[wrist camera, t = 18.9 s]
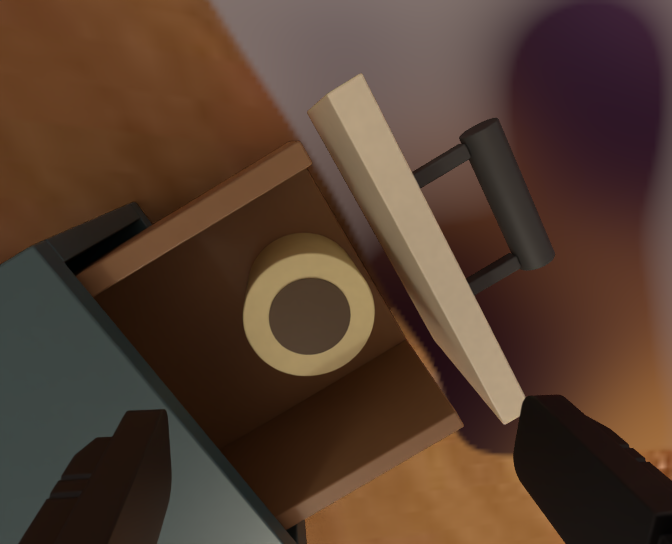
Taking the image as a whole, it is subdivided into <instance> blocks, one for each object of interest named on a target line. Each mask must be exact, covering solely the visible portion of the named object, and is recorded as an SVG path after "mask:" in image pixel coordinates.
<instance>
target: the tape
mask: <svg viewBox="0 0 672 544" xmlns="http://www.w3.org/2000/svg"><path fill="white" fill-rule="evenodd" d="M374 317H375V306H374V300H373V296H372V293H371V290H370V288H369V286H368V284H367V282H366V280H365V279H364V278H363V276H362V275H361V273H360V272H359V270H358V269H357V267H356V266H355V264H354V263H353V261H352V260H351V258H350V257H349V256H348V254H347V253H346V252H345V250H344V249H343V248H342V247H341V246H339V245H338V244H337V243H336V242H334V241H332V240H331V239H329V238H327V237H324V236H321V235H318V234H313V233H294V234H290V235H286V236H283V237H281V238H279V239H277V240H275V241H273V242H272V243H270V244H269V245H268V246H266V247H265V248H264V249H263V250H262V251H261V252H260V254H259V255H258V256H257V258H256V259H255V261H254V263H253V265H252V267H251V270H250V273H249V278H248V283H247V289H246V295H245V301H244V307H243V326H244V331H245V334H246V337H247V339H248V341H249V344H250V345H251V347H252V348H253V350H254V351H255V352H256V354H257V355H258V356H259V357H260V358H261V359H262V360H263V361H264V362H266V363H267V364H269V365H270V366H272V367H273V368H275V369H277V370H279V371H282V372H285V373H288V374H292V375H298V376H315V375H321V374H325V373H329V372H331V371H334V370H336V369H338V368H340V367H342V366H344V365H345V364H347V363H348V362H349V361H351V360H352V359H353V358H354V357H355V356H356V355H357V354H358V353H359V352H360V351H361V349H362V348H363V347H364V345H365V344H366V342H367V340H368V338H369V336H370V334H371V331H372V328H373V324H374Z"/></svg>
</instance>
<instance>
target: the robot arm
mask: <svg viewBox="0 0 672 544" xmlns="http://www.w3.org/2000/svg"><path fill="white" fill-rule="evenodd" d="M513 460H514V467H515V470H516V474H517V476H518V478H519V480H520V482H521V483H522V485H523V486H524V487H525V489H526V490H527V492H528V493H529V494H530V496H531V497H532V498H533V500H534V501H535V502H536V504H537V505H538V507H539V508H540V509H541V511H542V512H543V513H544V515H545V516H546V517H547V519H548V520H549V522H550V523H551V524H552V526H553V527H554V528H555V530H556V531H557V533H558V534H559V535H560V537H561V538H562V539H563V541H564V542H565V543H566V544H672V481H671V480H670V479H669V478H668V477H666V476H665V475H664V474H663V473H662V472H661V471H659V470H658V469H657V468H656V467H655V466H653V465H652V464H651V463H650V462H646V461H645V458H644V457H643V456H642V455H641V454H639V453H638V452H637V451H636V450H635V449H633V448H629V445H628V443H626V442H625V441H624V440H623V439H622V438H620V437H619V436H618V435H617V434H616V433H615V432H613V431H612V430H611V429H609V428H608V427H606V426H604V425H602V424H600V423H599V422H596V421H595V420H593V419H591V418H589V417H588V416H586V415H584V414H583V413H582V412H581V411H580V410H579V409H578V408H576V407H575V406H574V405H573V404H572V403H571V402H570V401H568V400H567V399H566V398H565V397H564V396H561V395H537V396H528V397H526V398H525V399H524V400H523V403H522V406H521V412H520V418H519V423H518V430H517V435H516V441H515V447H514V453H513ZM171 483H172V468H171V453H170V439H169V424H168V415H167V411H166V410H165V409H154V410H129V411H127V412H126V413H125V414H124V416H123V418H122V419H121V421H120V423H119V425H118V427H117V429H116V430H115V432H114V434H113V436H112V437H96V438H95V439H94V440H93V441H91V442H90V443H89V444H88V445H86V446H85V447H84V448H83V449H81V450H80V451H79V452H78V453H76V454H75V455H74V456H73V458H72V460H71V461H70V463H69V464H68V466H67V468H66V469H65V471H64V472H63V474H62V475H61V480H58V482H57V483H56V485H55V486H54V488H53V490H52V491H51V493H50V497H49V499H46V501H45V502H44V504H43V505H42V507H41V509H40V510H39V512H38V513H37V515H36V516H35V518H34V520H33V521H32V523H31V524H30V526H29V527H28V529H27V531H26V532H25V534H24V535H23V537H22V538H21V540H20V542H19V543H18V544H157V542H158V539H159V536H160V532H161V529H162V525H163V522H164V518H165V515H166V511H167V508H168V504H169V499H170V493H171Z"/></svg>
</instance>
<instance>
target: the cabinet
mask: <svg viewBox="0 0 672 544" xmlns="http://www.w3.org/2000/svg"><path fill="white" fill-rule="evenodd" d="M151 225H152V224H151V222H150V221H149V220H148V218H147V217H146V216H145V214H144V213H143V212H142V210H141V209H140V207H139V206H138V205H137V203H136V202H132V203H130V204H127V205H125V206H123V207H120V208H118V209H116V210H113V211H111V212H109V213H106V214H104V215H102V216H99V217H97V218H95V219H92V220H90V221H88V222H85V223H83V224H81V225H78V226H76V227H73V228H71V229H69V230H66V231H64V232H62V233H59V234H57V235H55V236H52V237H50V238H48V239H45V240H44V241H41V242H39V243H36V244H34V245H32V246H30V247H28V248H26V249H25V250H23V251H22V252H20V253H18V254H17V255H15V256H13V257H12V258H10V259H9V260H7V261H5V262H4V263H2V264H0V544H18V543H19V542H20V540H21V538H22V537H23V535H24V534H25V532H26V531H27V529H28V527H29V526H30V524H31V523H32V521H33V520H34V518H35V516H36V515H37V513H38V512H39V510H40V509H41V507H42V505H43V504H44V502H45V501H46V499H49V497H50V493H51V491H52V490H53V488H54V486H55V485H56V483H57V482H58V480H61V475H62V474H63V472H64V471H65V469H66V468H67V466H68V464H69V463H70V461H71V460H72V458H73V456H74V455H75V454H76V453H78V452H79V451H80V450H81V449H83V448H84V447H85V446H86V445H88V444H89V443H90V442H91V441H93V440H94V439H95V438H96V437H112V436H113V434H114V432H115V430H116V429H117V427H118V425H119V423H120V421H121V419H122V418H123V416H124V414H125V413H126V412H127V411H129V410H154V409H165V410H166V411H167V415H168V424H169V439H170V453H171V468H172V483H171V493H170V499H169V504H168V508H167V511H166V515H165V518H164V522H163V525H162V529H161V532H160V536H159V539H158V542H157V544H307V540H306V529H305V519H304V520H303V521H301V522H299V523H297V524H296V525H294V526H292V527H291V528H289V529H287V530H285V529H284V527H283V526H282V525H281V524H280V523H279V521H278V520H277V519H276V518H275V517H274V515H273V514H272V513H271V512H270V511H269V509H268V508H267V507H266V506H265V504H264V503H263V502H262V501H261V500H260V498H259V497H258V496H257V495H256V494H255V492H254V491H253V490H252V489H251V488H250V486H249V485H248V484H247V483H246V482H245V480H244V479H243V478H242V477H241V475H240V474H239V473H238V472H237V471H236V469H235V468H234V467H233V466H232V465H231V463H230V462H229V461H228V460H227V459H226V457H225V456H224V455H223V454H222V453H221V451H220V450H219V449H218V448H217V447H216V445H215V444H214V443H213V442H212V440H211V439H210V438H209V437H208V436H207V434H206V433H205V432H204V431H203V430H202V428H201V427H200V426H199V425H198V424H197V422H196V421H195V420H194V419H193V418H192V416H191V415H190V414H189V413H188V412H187V410H186V409H185V408H184V407H183V405H182V404H181V403H180V402H179V401H178V399H177V398H176V397H175V396H174V395H173V393H172V392H171V391H170V390H169V389H168V387H167V386H166V385H165V384H164V383H163V381H162V380H161V379H160V378H159V376H158V375H157V374H156V373H155V372H154V370H153V369H152V368H151V367H150V366H149V364H148V363H147V362H146V361H145V360H144V358H143V357H142V356H141V355H140V354H139V352H138V351H137V350H136V349H135V348H134V346H133V345H132V344H131V343H130V341H129V340H128V339H127V338H126V337H125V335H124V334H123V333H122V332H121V331H120V329H119V328H118V327H117V326H116V325H115V323H114V322H113V321H112V320H111V319H110V317H109V316H108V315H107V314H106V313H105V311H104V310H103V309H102V308H101V306H100V305H99V304H98V303H97V302H96V300H95V299H94V298H93V297H92V296H91V294H90V293H89V292H88V291H87V290H86V288H85V287H84V286H83V285H82V284H81V282H80V281H79V280H78V279H77V277H76V276H75V275H74V274H73V273H74V272H76V271H77V270H79V269H80V268H82V267H84V266H85V265H87V264H89V263H90V262H92V261H94V260H95V259H97V258H99V257H100V256H102V255H103V254H105V253H107V252H108V251H110V250H112V249H113V248H115V247H117V246H118V245H120V244H122V243H123V242H125V241H126V240H128V239H130V238H131V237H133V236H135V235H136V234H138V233H140V232H141V231H143V230H145V229H146V228H148V227H149V226H151Z"/></svg>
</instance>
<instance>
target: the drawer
mask: <svg viewBox="0 0 672 544" xmlns="http://www.w3.org/2000/svg"><path fill="white" fill-rule="evenodd" d="M307 114H308V115H309V117H310V119H311V121H312V123H313V124H314V126H315V128H316V130H317V131H318V133H319V135H320V137H321V139H322V141H323V142H324V144H325V146H326V148H327V149H328V151H329V153H330V155H331V157H332V158H333V160H334V162H335V164H336V165H337V167H338V169H339V171H340V172H341V174H342V176H343V178H344V180H345V182H346V183H347V185H348V187H349V189H350V191H351V192H352V194H353V196H354V198H355V200H356V201H357V203H358V205H359V207H360V208H361V210H362V212H363V214H364V216H365V217H366V219H367V221H368V222H369V224H370V226H371V228H372V230H373V232H374V234H375V235H376V237H377V239H378V241H379V242H380V244H381V246H382V248H383V249H384V251H385V253H386V255H387V257H388V259H389V260H390V262H391V264H392V265H393V267H394V269H395V271H396V273H397V275H398V276H399V278H400V280H401V282H402V283H403V285H404V287H405V289H406V291H407V293H408V294H409V296H410V298H411V299H412V301H413V303H414V305H415V307H416V309H417V310H418V312H419V314H420V316H421V318H422V319H423V321H424V323H425V325H426V327H427V328H428V330H429V332H430V333H431V335H432V337H433V339H434V340H435V341H436V343H437V344H438V345H439V346H440V348H441V349H442V350H443V351H444V352H445V354H446V355H447V356H448V357H449V359H450V360H451V361H452V362H453V363H454V365H455V366H456V367H457V368H458V369H459V371H460V372H461V373H462V374H463V375H464V377H465V378H466V379H467V380H468V382H469V383H470V384H471V385H472V386H473V388H474V389H475V390H476V391H477V393H478V394H479V395H480V396H481V397H482V399H483V400H484V401H485V402H486V403H487V404H488V406H489V407H490V408H491V409H492V411H493V412H494V413H495V414H496V416H497V417H498V418H499V419H500V420H501V422H502V423H503V424H504V425H505V424H507V423H509V422H510V421H512V420H514V419H516V418H517V417H519V416H520V412H521V406H522V403H523V400H524V399H525V398H526V397H525V395H524V393H523V391H522V390H521V388H520V385H519V383H518V381H517V379H516V378H515V376H514V374H513V372H512V370H511V368H510V366H509V364H508V362H507V360H506V358H505V356H504V354H503V352H502V350H501V348H500V346H499V344H498V342H497V340H496V338H495V336H494V334H493V332H492V330H491V328H490V326H489V324H488V322H487V320H486V318H485V316H484V314H483V312H482V310H481V308H480V306H479V304H478V302H477V300H476V298H475V296H474V295H476V294H478V293H479V292H481V291H483V290H484V289H486V288H488V287H489V286H491V285H493V284H494V283H496V282H498V281H499V280H501V279H503V278H504V277H506V276H508V275H510V274H511V273H513V272H515V271H516V270H518V269H521V270H534V269H538V268H541V267H543V266H545V265H546V264H548V263H550V262H551V261H552V260H553V258H554V256H555V252H554V250H553V248H552V245H551V243H550V240H549V238H548V236H547V233H546V231H545V229H544V226H543V224H542V222H541V219H540V217H539V215H538V212H537V209H536V207H535V205H534V202H533V200H532V198H531V195H530V193H529V190H528V188H527V186H526V183H525V181H524V179H523V176H522V174H521V171H520V169H519V167H518V164H517V162H516V160H515V157H514V155H513V153H512V150H511V148H510V146H509V143H508V141H507V138H506V136H505V133H504V131H503V129H502V126H501V124H500V122H499V119H498V118H492V119H489V120H486V121H484V122H481V123H479V124H477V125H475V126H473V127H472V128H470V129H468V130H467V131H465V132H464V133H463V134H462V135H461V136H460V137H459V139H460V141H461V144H458V145H456V146H455V147H453V148H451V149H450V150H448V151H447V152H445V153H443V154H442V155H440V156H438V157H436V158H435V159H433V160H431V161H430V162H428V163H426V164H425V165H423V166H421V167H420V168H418V169H416V170H415V171H413V172H412V171H411V169H410V167H409V165H408V163H407V161H406V159H405V157H404V155H403V153H402V151H401V149H400V147H399V146H398V143H397V141H396V140H395V137H394V136H393V133H392V131H391V130H390V128H389V126H388V124H387V122H386V120H385V118H384V116H383V114H382V112H381V110H380V108H379V106H378V104H377V102H376V100H375V98H374V96H373V94H372V92H371V90H370V88H369V86H368V84H367V82H366V80H365V78H364V76H363V74H359V75H357V76H355V77H354V78H352V79H351V80H349V81H347V82H345V83H344V84H342V85H341V86H339V87H337V88H336V89H334V90H332V91H331V92H329V93H328V94H326V95H325V96H324V97H323V98H322V99H321V100H320V101H319V102H317V103H316V104H315V105H314V106H313V107H312V108H311V109H310V110H309V111H308V112H307ZM467 160H469V161H470V163H471V165H472V168H473V170H474V172H475V174H476V176H477V179H478V181H479V183H480V185H481V187H482V190H483V192H484V194H485V196H486V198H487V200H488V203H489V205H490V207H491V209H492V211H493V213H494V216H495V218H496V220H497V222H498V225H499V227H500V229H501V231H502V233H503V235H504V238H505V240H506V242H507V244H508V246H509V248H510V251H511V253H512V254H511V253H508V254H507V255H505V256H503V257H502V258H500V259H498V260H496V261H495V262H493V263H491V264H490V265H488V266H486V267H485V268H483V269H481V270H480V271H478V272H477V273H475V274H473V275H471V276H470V277H468V278H465V276H464V275H463V272H462V271H461V269H460V267H459V264H458V262H457V260H456V259H455V256H454V254H453V253H452V251H451V249H450V247H449V245H448V243H447V241H446V239H445V237H444V235H443V233H442V231H441V229H440V227H439V225H438V223H437V221H436V219H435V217H434V215H433V213H432V211H431V209H430V207H429V205H428V203H427V201H426V199H425V197H424V195H423V193H422V191H421V189H420V188H422V187H424V186H425V185H427V184H428V183H430V182H432V181H434V180H435V179H437V178H438V177H440V176H442V175H444V174H445V173H447V172H449V171H450V170H452V169H453V168H455V167H457V166H458V165H460V164H462V163H464V162H465V161H467ZM311 164H312V161H311V159H310V157H309V155H308V154H307V152H306V150H305V148H304V147H303V145H302V143H301V142H300V141H290V142H288V143H286V144H284V145H283V146H281V147H279V148H278V149H276V150H274V151H273V152H271V153H269V154H268V155H266V156H265V157H263V158H261V159H260V160H258V161H256V162H255V163H253V164H251V165H250V166H248V167H246V168H245V169H243V170H242V171H240V172H238V173H237V174H235V175H233V176H232V177H230V178H228V179H227V180H225V181H223V182H222V183H220V184H219V185H217V186H215V187H214V188H212V189H210V190H209V191H207V192H205V193H204V194H202V195H200V196H199V197H197V198H196V199H194V200H192V201H191V202H189V203H187V204H186V205H184V206H182V207H181V208H179V209H177V210H176V211H174V212H172V213H171V214H169V215H168V216H166V217H164V218H163V219H161V220H159V221H158V222H156V223H154V224H153V225H151V226H149V227H148V228H146V229H145V230H143V231H141V232H140V233H138V234H136V235H135V236H133V237H131V238H130V239H128V240H126V241H125V242H123V243H122V244H120V245H118V246H117V247H115V248H113V249H112V250H110V251H108V252H107V253H105V254H103V255H102V256H100V257H99V258H97V259H95V260H94V261H92V262H90V263H89V264H87V265H85V266H84V267H82V268H80V269H79V270H77V271H76V272H74V273H73V274H74V275H75V276H76V277H77V279H78V280H79V281H80V282H81V284H82V285H83V286H84V287H85V288H86V290H87V291H88V292H89V293H90V294H91V296H92V297H93V298H94V299H95V300H96V302H97V303H98V304H99V305H100V306H101V308H102V309H103V310H104V311H105V313H106V314H107V315H108V316H109V317H110V319H111V320H112V321H113V322H114V323H115V325H116V326H117V327H118V328H119V329H120V331H121V332H122V333H123V334H124V335H125V337H126V338H127V339H128V340H129V341H130V343H131V344H132V345H133V346H134V348H135V349H136V350H137V351H138V352H139V354H140V355H141V356H142V357H143V358H144V360H145V361H146V362H147V363H148V364H149V366H150V367H151V368H152V369H153V370H154V372H155V373H156V374H157V375H158V376H159V378H160V379H161V380H162V381H163V383H164V384H165V385H166V386H167V387H168V389H169V390H170V391H171V392H172V393H173V395H174V396H175V397H176V398H177V399H178V401H179V402H180V403H181V404H182V405H183V407H184V408H185V409H186V410H187V412H188V413H189V414H190V415H191V416H192V418H193V419H194V420H195V421H196V422H197V424H198V425H199V426H200V427H201V428H202V430H203V431H204V432H205V433H206V434H207V436H208V437H209V438H210V439H211V440H212V442H213V443H214V444H215V445H216V447H217V448H218V449H219V450H220V451H221V453H222V454H223V455H224V456H225V457H226V459H227V460H228V461H229V462H230V463H231V465H232V466H233V467H234V468H235V469H236V471H237V472H238V473H239V474H240V475H241V477H242V478H243V479H244V480H245V482H246V483H247V484H248V485H249V486H250V488H251V489H252V490H253V491H254V492H255V494H256V495H257V496H258V497H259V498H260V500H261V501H262V502H263V503H264V504H265V506H266V507H267V508H268V509H269V511H270V512H271V513H272V514H273V515H274V517H275V518H276V519H277V520H278V521H279V523H280V524H281V525H282V526H283V527H284V529H285V530H287V529H289V528H291V527H292V526H294V525H296V524H297V523H299V522H301V521H303V520H304V519H306V518H308V517H309V516H311V515H313V514H315V513H316V512H318V511H320V510H321V509H323V508H325V507H327V506H328V505H330V504H332V503H334V502H335V501H337V500H339V499H340V498H342V497H344V496H346V495H347V494H349V493H351V492H352V491H354V490H356V489H358V488H359V487H361V486H363V485H364V484H366V483H368V482H370V481H371V480H373V479H375V478H376V477H378V476H380V475H382V474H383V473H385V472H387V471H388V470H390V469H392V468H394V467H395V466H397V465H399V464H400V463H402V462H404V461H406V460H407V459H409V458H411V457H412V456H414V455H416V454H418V453H419V452H421V451H423V450H424V449H426V448H428V447H430V446H431V445H433V444H435V443H436V442H438V441H440V440H442V439H443V438H445V437H447V436H448V435H450V434H452V433H454V432H455V431H457V430H459V429H460V428H462V427H463V426H464V425H463V423H462V421H461V419H460V418H459V416H458V414H457V412H456V411H455V409H454V408H453V406H452V405H451V403H450V402H449V401H448V399H447V398H446V396H445V395H444V393H443V392H442V390H441V389H440V387H439V386H438V385H437V383H436V382H435V380H434V379H433V377H432V376H431V374H430V373H429V371H428V370H427V368H426V367H425V366H424V364H423V363H422V361H421V360H420V358H419V357H418V355H417V354H416V352H415V351H414V349H413V348H412V347H411V345H410V344H409V342H408V341H407V339H406V337H405V336H404V334H403V332H402V331H401V329H400V327H399V325H398V324H397V322H396V320H395V319H394V317H393V315H392V313H391V312H390V310H389V308H388V307H387V305H386V303H385V301H384V300H383V298H382V296H381V295H380V293H379V291H378V289H377V288H376V286H375V284H374V283H373V281H372V279H371V277H370V276H369V274H368V272H367V271H366V269H365V267H364V265H363V264H362V262H361V260H360V259H359V257H358V255H357V253H356V252H355V250H354V248H353V247H352V245H351V243H350V241H349V240H348V238H347V236H346V235H345V233H344V231H343V229H342V228H341V226H340V224H339V223H338V221H337V219H336V217H335V216H334V214H333V212H332V211H331V209H330V207H329V205H328V204H327V202H326V200H325V199H324V197H323V195H322V193H321V192H320V190H319V188H318V187H317V185H316V183H315V181H314V180H313V178H312V176H311V175H310V173H309V171H308V169H307V167H309V166H310V165H311ZM294 233H313V234H318V235H321V236H324V237H327V238H329V239H331V240H332V241H334V242H336V243H337V244H338V245H339V246H341V247H342V248H343V249H344V250H345V252H346V253H347V254H348V256H349V257H350V258H351V260H352V261H353V263H354V264H355V266H356V267H357V269H358V270H359V272H360V273H361V275H362V276H363V278H364V279H365V280H366V282H367V284H368V286H369V288H370V290H371V293H372V296H373V300H374V306H375V317H374V324H373V328H372V331H371V334H370V336H369V338H368V340H367V342H366V344H365V345H364V347H363V348H362V349H361V351H360V352H359V353H358V354H357V355H356V356H355V357H354V358H353V359H352V360H351V361H349V362H348V363H347V364H345V365H344V366H342V367H340V368H338V369H336V370H334V371H331V372H329V373H325V374H321V375H315V376H298V375H292V374H288V373H285V372H282V371H279V370H277V369H275V368H273V367H272V366H270V365H269V364H267V363H266V362H264V361H263V360H262V359H261V358H260V357H259V356H258V355H257V354H256V352H255V351H254V350H253V348H252V347H251V345H250V344H249V341H248V339H247V337H246V334H245V331H244V326H243V307H244V301H245V295H246V289H247V283H248V278H249V273H250V270H251V267H252V265H253V263H254V261H255V259H256V258H257V256H258V255H259V254H260V252H261V251H262V250H263V249H264V248H265V247H266V246H268V245H269V244H270V243H272V242H273V241H275V240H277V239H279V238H281V237H283V236H286V235H290V234H294Z"/></svg>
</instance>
